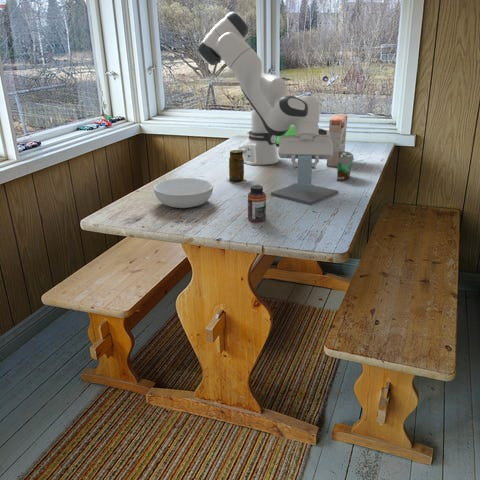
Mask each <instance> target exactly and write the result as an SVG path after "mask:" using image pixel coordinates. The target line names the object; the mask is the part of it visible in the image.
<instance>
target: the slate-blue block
mask: <svg viewBox="0 0 480 480" xmlns="http://www.w3.org/2000/svg"><path fill="white" fill-rule="evenodd" d="M297 162H298V168H297V182H296V183H297V185H312V172H313V171H312V163H313V159H312V155H298V159H297Z"/></svg>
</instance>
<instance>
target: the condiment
mask: <svg viewBox="0 0 480 480" xmlns="http://www.w3.org/2000/svg"><path fill="white" fill-rule="evenodd" d="M225 180H227V181H228V182H229V183H230V184H243V183H249V180H247V179H246V178H245V163H244V158H243V152H242V151H241V150H238V149H233V150H230V151H229V157H228V177H226V178H225Z"/></svg>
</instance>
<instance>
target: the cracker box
mask: <svg viewBox="0 0 480 480" xmlns="http://www.w3.org/2000/svg"><path fill="white" fill-rule="evenodd" d="M347 123H348V115H346V114H345V115H344V114H334V116H332V117H331V118H330V119H329V123H328V124H329V125H328V126H329V127H328V131H329V132H330V139H331V140H332V144H333V157H332V159H330V160H328V159H326V167H330V168H331V167H332V168H338V157H339V151H345V150H346V149H345V148H346V139H347V136H346V135H347V127H348V126H347Z"/></svg>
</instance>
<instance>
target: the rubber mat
mask: <svg viewBox="0 0 480 480" xmlns="http://www.w3.org/2000/svg"><path fill="white" fill-rule="evenodd" d="M337 194H339V190H337V189H333V188H330V187H324V186H320V185H315V184H311V185H297V182H295V183H292V184H290V185H287V186H284V187H281V188H280V189H277V190H276V189H275V190H274V191H271V192H270V195H271V196H274V197H279V198H280V199H281V198H282V199H286V200H289V201H293V202H297V203H302V204H305V205H308V206H311V205H313V204H317V203H319V202H321V201H323V200H325V199H327V198H330V197H333V196H335V195H337Z"/></svg>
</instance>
